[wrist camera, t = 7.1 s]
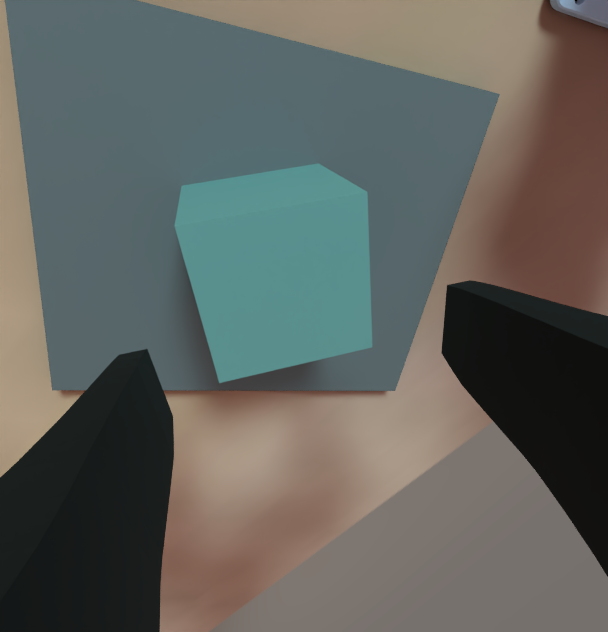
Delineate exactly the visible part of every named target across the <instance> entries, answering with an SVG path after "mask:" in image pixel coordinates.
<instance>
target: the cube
mask: <svg viewBox="0 0 608 632" xmlns="http://www.w3.org/2000/svg"><path fill="white" fill-rule="evenodd" d="M175 230H176V233H177V237H178V240H179V244H180V247H181V251H182V254H183V258H184V261H185V265H186V268H187V272H188V275H189V279H190V282H191V286H192V289H193V293H194V296H195V300H196V303H197V307H198V310H199V314H200V317H201V321H202V324H203V328H204V331H205V335H206V338H207V342H208V345H209V349H210V352H211V356H212V359H213V363H214V366H215V370H216V373H217V377H218V380H219V383H222V382H226V381H230V380H235V379H239V378H243V377H248V376H252V375H256V374H260V373H265V372H269V371H273V370H277V369H282V368H286V367H290V366H295V365H299V364H303V363H307V362H312V361H316V360H320V359H324V358H329V357H333V356H337V355H342V354H346V353H350V352H354V351H359V350H363V349H367V348H371V347H372V318H371V287H370V257H369V226H368V195H367V191H365V190H363V189H362V188H360V187H358V186H356V185H355V184H353V183H351V182H350V181H348V180H346V179H344V178H343V177H341V176H339V175H338V174H336V173H334V172H332V171H331V170H329V169H327V168H326V167H324V166H322V165H321V164H319V163H318V164H312V165H306V166H300V167H293V168H287V169H281V170H275V171H269V172H263V173H257V174H251V175H244V176H238V177H232V178H226V179H220V180H214V181H208V182H202V183H195V184H189V185H183V186H181V192H180V198H179V203H178V209H177V215H176V220H175Z"/></svg>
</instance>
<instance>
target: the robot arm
mask: <svg viewBox="0 0 608 632" xmlns="http://www.w3.org/2000/svg"><path fill="white" fill-rule="evenodd" d="M550 3H551V6H552V8H553V9H555V10H556V11H559V12H562V13H565V14H568V15H571V16H574V17H576V18H579V19H582V20H585V21H588V22H591V23H594V24H597V25H599V26H602V27H605V28H608V0H577V2H576V3H575V0H550ZM442 354H443V356H444V358H445V359H446V361H447V363H448V364H449V366H450V367H451V369H452V371H453V372H454V374H455V375H456V377H457V378H458V380H459V381H460V383H461V384H462V385H463V386H464V388H465V389H466V390H467V391H468V393H469V394H470V395H471V396H472V397H473V398H474V399H475V401H476V402H477V403H478V404H479V405H480V406H481V408H482V409H483V410H484V411H485V412H486V413H487V415H488V416H489V417H490V418H491V419H492V420H493V421H494V422H495V424H496V425H497V426H498V427H499V428H500V429H501V430H502V432H503V433H504V434H505V435H506V436H507V437H508V438H509V440H510V441H511V442H512V443H513V444H514V445H515V446H516V448H517V449H518V450H519V451H520V452H521V453H522V454H523V455H524V457H525V458H526V459H527V461H528V462H529V463H530V464H531V466H532V467H533V468H534V469H535V470H536V472H537V473H538V474H539V476H540V477H541V479H542V480H543V481H544V483H545V484H546V485H547V487H548V488H549V490H550V491H551V492H552V494H553V495H554V497H555V498H556V500H557V501H558V502H559V504H560V505H561V507H562V508H563V509H564V511H565V512H566V514H567V515H568V517H569V518H570V520H571V521H572V523H573V524H574V526H575V527H576V528H577V530H578V532H579V533H580V535H581V536H582V538H583V539H584V541H585V542H586V544H587V545H588V546H589V548H590V549H591V551H592V552H593V554H594V555H595V557H596V559H597V560H598V562H599V563H600V565H601V567H602V568H603V570H604V571H605V573H606V575H607V576H608V316H605V315H601V314H597V313H593V312H589V311H585V310H581V309H577V308H574V307H570V306H566V305H563V304H559V303H555V302H552V301H548V300H545V299H541V298H538V297H534V296H531V295H527V294H524V293H520V292H517V291H513V290H509V289H506V288H502V287H498V286H494V285H490V284H486V283H481V282H476V281H465V282H460V283H456V284H451V285H447V293H446V305H445V318H444V330H443V342H442ZM173 459H174V435H173V415H172V413H171V410H170V407H169V405H168V402H167V399H166V397H165V394H164V392H163V389H162V386H161V384H160V381H159V378H158V376H157V373H156V370H155V368H154V365H153V362H152V360H151V357H150V354H149V352H148V349H144V350H139V351H134V352H130V353H125V354H120V355H118V356H117V357H116V358H115V359H114V360H113V361H112V362H111V363H110V364H109V365H108V366H107V368H106V369H105V370H104V371H103V372H102V373H101V374H100V375H99V376H98V378H97V379H96V380H95V381H94V382H93V383H92V384H91V385H90V387H89V388H88V389H87V390H86V391H85V392H84V393H83V394H82V395H81V396H80V398H79V399H78V400H77V401H76V402H75V403H74V404H73V405H72V406H71V407H70V409H69V410H68V411H67V412H66V413H65V414H64V415H63V416H62V417H61V418H60V419H59V420H58V421H57V422H56V423H55V424H54V425H53V426H52V427H51V428H50V429H49V431H48V432H47V433H46V434H45V435H44V436H43V437H42V438H41V439H40V440H39V441H38V442H37V443H36V444H35V445H34V446H33V447H32V448H31V449H30V450H29V451H28V452H27V453H26V454H25V455H24V456H23V457H22V458H21V459H20V460H19V461H18V462H17V463H16V464H14V465H13V466H12V467H11V468H10V469H9V470H8V471H7V472H6V473H5V474H4V475H3V476H2V477H0V632H159V631H160V581H161V567H162V555H163V547H164V538H165V530H166V521H167V513H168V504H169V496H170V487H171V478H172V469H173Z"/></svg>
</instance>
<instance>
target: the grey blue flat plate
mask: <svg viewBox="0 0 608 632" xmlns="http://www.w3.org/2000/svg"><path fill="white" fill-rule="evenodd" d="M5 4H6V12H7V21H8V29H9V37H10V45H11V54H12V62H13V70H14V78H15V86H16V95H17V103H18V111H19V119H20V128H21V136H22V144H23V152H24V161H25V169H26V177H27V185H28V193H29V202H30V210H31V218H32V226H33V235H34V243H35V251H36V259H37V267H38V276H39V284H40V292H41V300H42V309H43V317H44V325H45V333H46V342H47V350H48V358H49V366H50V374H51V383H52V390H87V389H88V388H89V387H90V385H91V384H92V383H93V382H94V381H95V380H96V379H97V378H98V376H99V375H100V374H101V373H102V372H103V371H104V370H105V369H106V368H107V366H108V365H109V364H110V363H111V362H112V361H113V360H114V359H115V358H116V357H117V356H118V355H120V354H125V353H130V352H134V351H139V350H144V349H148V352H149V354H150V357H151V360H152V362H153V365H154V368H155V370H156V373H157V376H158V378H159V381H160V384H161V386H162V389H163V390H269V391H395V389H396V386H397V384H398V381H399V378H400V375H401V372H402V369H403V367H404V364H405V361H406V358H407V355H408V352H409V350H410V347H411V344H412V341H413V338H414V335H415V333H416V330H417V327H418V324H419V321H420V318H421V315H422V313H423V310H424V307H425V304H426V301H427V298H428V296H429V293H430V290H431V287H432V284H433V281H434V279H435V276H436V273H437V270H438V267H439V264H440V262H441V259H442V256H443V253H444V250H445V247H446V245H447V242H448V239H449V236H450V233H451V230H452V228H453V225H454V222H455V219H456V216H457V213H458V211H459V208H460V205H461V202H462V199H463V196H464V194H465V191H466V188H467V185H468V182H469V179H470V177H471V174H472V171H473V168H474V165H475V162H476V159H477V157H478V154H479V151H480V148H481V145H482V142H483V140H484V137H485V134H486V131H487V128H488V125H489V123H490V120H491V117H492V114H493V111H494V108H495V106H496V103H497V100H498V97H499V94H497V93H493V92H489V91H486V90H482V89H478V88H474V87H470V86H466V85H462V84H458V83H455V82H451V81H447V80H443V79H439V78H435V77H431V76H427V75H424V74H420V73H416V72H412V71H408V70H404V69H400V68H396V67H393V66H389V65H385V64H381V63H377V62H373V61H369V60H365V59H362V58H358V57H354V56H350V55H346V54H342V53H338V52H334V51H330V50H327V49H323V48H319V47H315V46H311V45H307V44H303V43H299V42H296V41H292V40H288V39H284V38H280V37H276V36H272V35H268V34H265V33H261V32H257V31H253V30H249V29H245V28H241V27H237V26H234V25H230V24H226V23H222V22H218V21H214V20H210V19H206V18H202V17H199V16H195V15H191V14H187V13H183V12H179V11H175V10H171V9H168V8H164V7H160V6H156V5H152V4H148V3H144V2H140V1H137V0H5ZM318 163H319V164H321V165H322V166H324V167H326V168H327V169H329V170H331V171H332V172H334V173H336V174H338V175H339V176H341V177H343V178H344V179H346V180H348V181H350V182H351V183H353V184H355V185H356V186H358V187H360V188H362V189H363V190H365V191H367V195H368V226H369V257H370V287H371V318H372V347H371V348H367V349H363V350H359V351H354V352H350V353H346V354H342V355H337V356H333V357H329V358H324V359H320V360H316V361H312V362H307V363H303V364H299V365H295V366H290V367H286V368H282V369H277V370H273V371H269V372H265V373H260V374H256V375H252V376H248V377H243V378H239V379H235V380H230V381H226V382H222V383H219V380H218V377H217V373H216V370H215V366H214V363H213V359H212V356H211V352H210V349H209V345H208V342H207V338H206V335H205V331H204V328H203V324H202V321H201V317H200V314H199V310H198V307H197V303H196V300H195V296H194V293H193V289H192V286H191V282H190V279H189V275H188V272H187V268H186V265H185V261H184V258H183V254H182V251H181V247H180V244H179V240H178V237H177V233H176V230H175V220H176V215H177V209H178V203H179V198H180V192H181V186H183V185H189V184H195V183H202V182H208V181H214V180H220V179H226V178H232V177H238V176H244V175H251V174H257V173H263V172H269V171H275V170H281V169H287V168H293V167H300V166H306V165H312V164H318Z"/></svg>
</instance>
